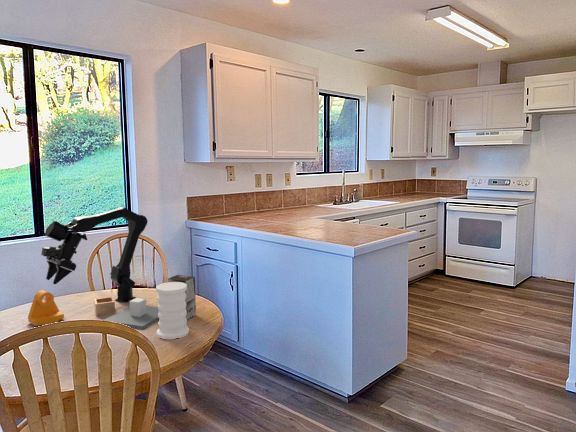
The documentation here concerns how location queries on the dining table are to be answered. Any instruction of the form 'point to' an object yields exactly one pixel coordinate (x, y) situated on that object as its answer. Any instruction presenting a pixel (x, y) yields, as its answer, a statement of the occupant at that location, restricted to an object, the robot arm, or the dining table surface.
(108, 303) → the collar
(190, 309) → the coffee box
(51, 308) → the bracket
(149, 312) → the duct base
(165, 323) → the decorative container
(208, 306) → the dining table surface
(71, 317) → the dining table surface
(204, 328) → the dining table surface
